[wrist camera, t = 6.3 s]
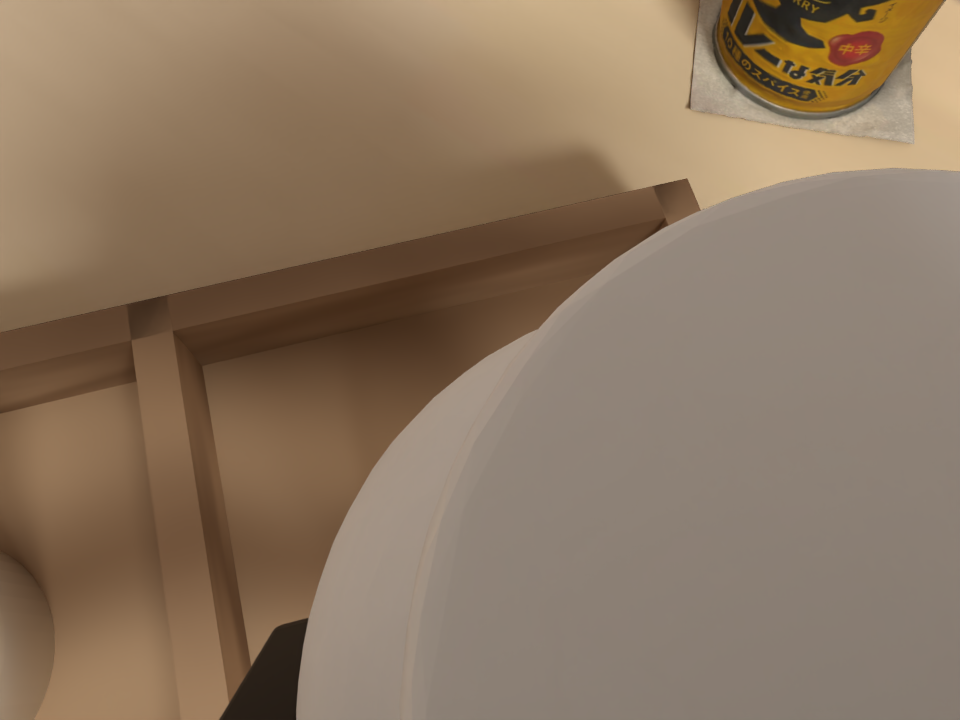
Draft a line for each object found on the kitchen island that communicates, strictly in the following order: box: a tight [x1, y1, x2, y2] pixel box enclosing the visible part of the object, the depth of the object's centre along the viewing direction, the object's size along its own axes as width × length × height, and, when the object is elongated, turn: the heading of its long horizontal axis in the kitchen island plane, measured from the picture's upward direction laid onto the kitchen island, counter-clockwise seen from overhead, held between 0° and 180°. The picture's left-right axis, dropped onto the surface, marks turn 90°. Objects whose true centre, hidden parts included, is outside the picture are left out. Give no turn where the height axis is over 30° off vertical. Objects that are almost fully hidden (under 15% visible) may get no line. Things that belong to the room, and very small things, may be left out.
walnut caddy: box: [0, 179, 701, 720], centre depth 19 cm, size 13×29×3 cm, turn 105°
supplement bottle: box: [296, 168, 960, 720], centre depth 9 cm, size 7×7×13 cm
